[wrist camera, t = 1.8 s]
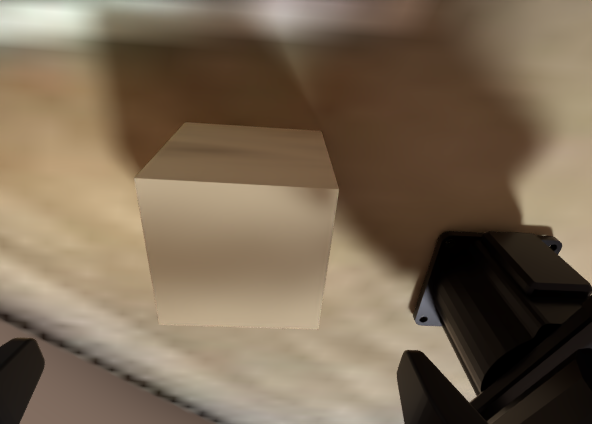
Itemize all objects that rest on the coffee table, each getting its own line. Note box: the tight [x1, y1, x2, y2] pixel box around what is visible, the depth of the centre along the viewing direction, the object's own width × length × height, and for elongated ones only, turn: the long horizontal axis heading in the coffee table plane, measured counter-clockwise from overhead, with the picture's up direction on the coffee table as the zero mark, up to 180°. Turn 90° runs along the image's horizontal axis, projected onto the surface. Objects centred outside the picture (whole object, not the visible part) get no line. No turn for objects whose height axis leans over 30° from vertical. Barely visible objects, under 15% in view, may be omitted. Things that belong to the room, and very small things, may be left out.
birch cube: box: [134, 122, 339, 329], centre depth 14 cm, size 6×6×6 cm
